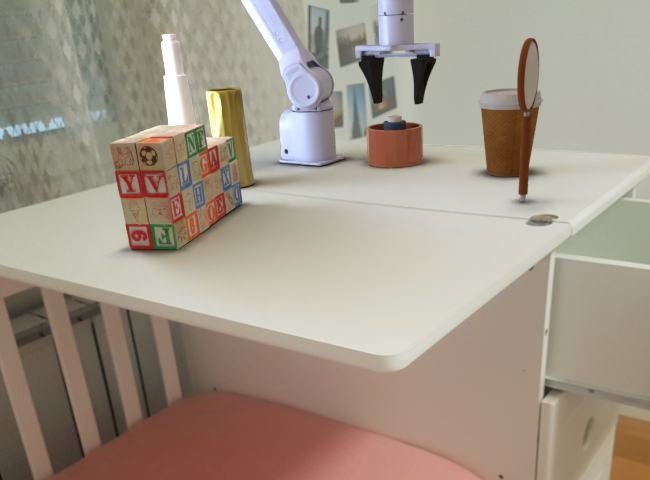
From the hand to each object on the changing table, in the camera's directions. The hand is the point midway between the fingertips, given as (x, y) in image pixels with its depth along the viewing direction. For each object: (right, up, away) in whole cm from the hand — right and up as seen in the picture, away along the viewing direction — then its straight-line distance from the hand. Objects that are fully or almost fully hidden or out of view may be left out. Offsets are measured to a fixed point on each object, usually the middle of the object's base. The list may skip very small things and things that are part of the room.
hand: (398, 103), depth 121 cm
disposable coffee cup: (+17, -14, -9) cm, 24 cm away
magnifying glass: (+15, -22, -26) cm, 37 cm away
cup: (0, -9, +2) cm, 10 cm away
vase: (-26, -16, -8) cm, 31 cm away
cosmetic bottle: (-35, -13, -1) cm, 37 cm away
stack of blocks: (-28, -25, -28) cm, 47 cm away
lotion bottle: (0, -9, +2) cm, 9 cm away
